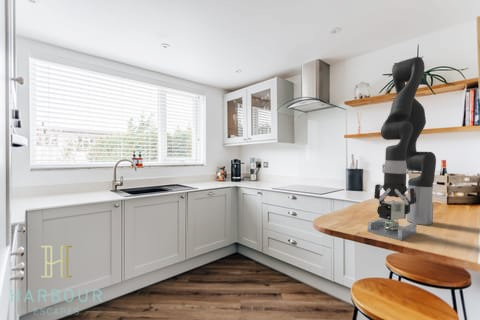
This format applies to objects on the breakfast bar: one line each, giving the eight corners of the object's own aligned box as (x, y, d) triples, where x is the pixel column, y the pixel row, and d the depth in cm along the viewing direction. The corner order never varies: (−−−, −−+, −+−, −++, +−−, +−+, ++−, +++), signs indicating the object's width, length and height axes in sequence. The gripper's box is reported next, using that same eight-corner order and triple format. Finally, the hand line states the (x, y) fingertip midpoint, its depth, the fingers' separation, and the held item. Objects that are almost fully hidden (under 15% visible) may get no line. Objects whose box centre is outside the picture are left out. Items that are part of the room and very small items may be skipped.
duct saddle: (384, 224, 106) (384, 216, 106) (416, 232, 96) (416, 223, 96) (367, 231, 96) (367, 222, 96) (401, 240, 86) (401, 230, 86)
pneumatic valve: (407, 229, 96) (408, 200, 95) (386, 232, 92) (388, 201, 91) (394, 225, 101) (395, 197, 100) (374, 228, 97) (375, 199, 96)
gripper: (419, 172, 92) (418, 213, 92) (379, 170, 103) (378, 207, 104) (413, 173, 87) (411, 217, 88) (372, 171, 98) (371, 209, 99)
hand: (393, 211), depth 96 cm, fingers open, 8 cm apart
